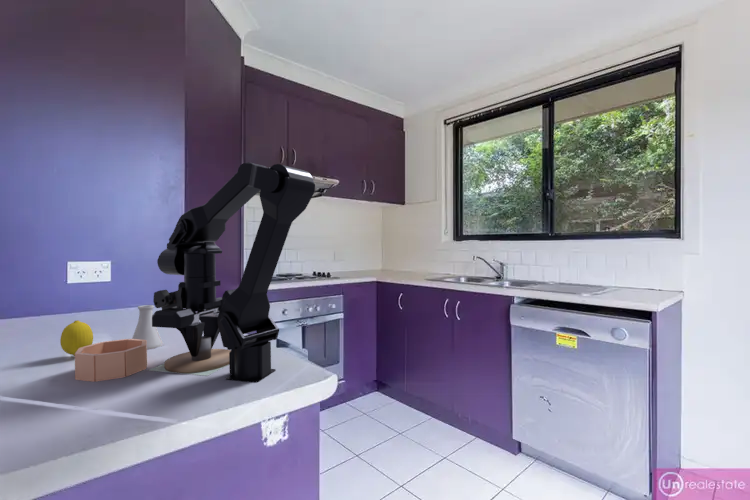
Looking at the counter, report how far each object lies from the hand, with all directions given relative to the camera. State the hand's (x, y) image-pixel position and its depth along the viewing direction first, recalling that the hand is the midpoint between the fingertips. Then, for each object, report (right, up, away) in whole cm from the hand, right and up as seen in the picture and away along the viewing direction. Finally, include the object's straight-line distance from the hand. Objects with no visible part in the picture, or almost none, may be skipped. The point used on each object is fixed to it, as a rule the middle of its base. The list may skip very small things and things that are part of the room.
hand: (201, 353), depth 74 cm
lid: (0, -2, 0) cm, 2 cm away
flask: (-19, -2, +12) cm, 22 cm away
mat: (0, -2, 0) cm, 2 cm away
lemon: (-30, -3, +6) cm, 30 cm away
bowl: (-15, -2, -4) cm, 15 cm away
